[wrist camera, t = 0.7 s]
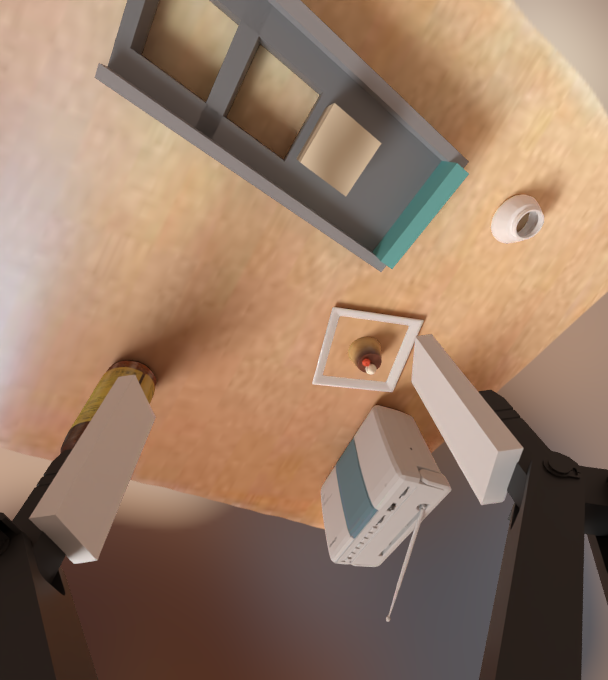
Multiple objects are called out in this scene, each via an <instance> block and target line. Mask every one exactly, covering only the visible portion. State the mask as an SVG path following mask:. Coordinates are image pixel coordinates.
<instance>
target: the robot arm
mask: <svg viewBox="0 0 608 680" xmlns="http://www.w3.org/2000/svg"><path fill="white" fill-rule="evenodd" d="M411 382H412V384H413V385H414V387H415V389H416V391H417V392H418V394H419V396H420V398H421V400H422V401H423V403H424V405H425V407H426V408H427V410H428V412H429V414H430V415H431V417H432V419H433V421H434V422H435V424H436V426H437V428H438V429H439V431H440V433H441V435H442V436H443V438H444V440H445V442H446V443H447V445H448V447H449V449H450V450H451V452H452V454H453V456H454V457H455V459H456V461H457V463H458V465H459V466H460V468H461V470H462V471H463V473H464V475H465V477H466V478H467V480H468V482H469V484H470V485H471V487H472V489H473V491H474V492H475V494H476V496H477V498H478V500H479V501H480V503H481V505H484V504H491V503H498V502H504V499H505V496H506V494H507V491H508V493H509V494H510V496H511V497H512V499H513V500H514V502H515V503H514V505H513V508H512V510H511V513H510V515H509V517H508V520H510V524H509V529H508V534H507V539H506V544H505V549H504V554H503V559H502V565H501V570H500V575H499V581H498V585H497V590H496V595H495V601H494V605H493V611H492V616H491V621H490V626H489V631H488V636H487V641H486V646H485V651H484V656H483V662H482V667H481V672H480V677H479V680H581V659H582V613H583V612H582V611H583V564H584V534H587V535H588V539H589V543H590V546H591V549H592V553H593V556H594V560H595V563H596V567H597V570H598V573H599V577H600V580H601V583H602V587H603V590H604V594H605V597H606V600H607V604H608V470H606V469H598V468H591V467H584V466H579V465H578V464H577V463H576V462H575V461H573V460H572V459H571V458H569V457H567V456H565V455H562V454H561V453H558V452H553V451H551V450H550V449H549V448H548V447H547V446H546V445H545V444H544V443H543V441H542V440H541V439H540V438H539V437H538V436H537V435H536V433H535V432H534V431H533V430H532V429H531V428H530V427H529V426H528V424H527V423H526V422H525V421H524V420H523V419H522V418H520V416H519V414H518V413H517V412H516V411H515V410H513V408H512V406H511V405H510V404H509V403H508V402H507V401H506V400H505V399H504V398H503V397H502V396H500V395H498V394H497V393H495V392H494V391H492V390H486V391H479V392H478V391H477V390H476V389H475V387H474V386H473V385H472V384H471V382H470V381H469V380H468V379H467V377H466V376H465V375H464V374H463V372H462V371H461V370H460V369H459V367H458V366H457V365H456V364H455V363H454V361H453V360H452V359H451V358H450V356H449V355H448V354H447V353H446V351H445V350H444V349H443V348H442V346H441V345H440V344H439V343H438V341H437V340H436V339H435V338H434V337H433V335H432V334H428V335H421V336H415V347H414V358H413V370H412V381H411ZM155 418H156V417H155V415H154V413H153V411H152V409H151V406H150V404H149V402H148V400H147V398H146V396H145V394H144V392H143V390H142V388H141V386H140V384H139V382H138V380H137V378H136V375H128V376H121V377H118V378H117V380H116V382H115V383H114V385H113V386H112V388H111V389H110V391H109V393H108V394H107V396H106V397H105V399H104V401H103V402H102V404H101V405H100V407H99V408H98V410H97V412H96V413H95V415H94V416H93V418H92V419H91V421H90V423H89V424H88V426H87V427H86V429H85V431H84V432H83V434H82V435H81V437H80V438H79V440H78V442H77V443H76V445H75V446H74V448H73V449H69V450H64V451H63V452H62V453H61V454H60V455H59V456H58V457H57V458H56V459H55V460H54V461H53V462H52V463H51V465H50V466H49V467H48V469H47V470H46V472H45V473H44V477H42V478H41V479H40V481H39V482H38V484H37V487H36V488H34V490H33V491H32V493H31V494H30V496H29V497H28V499H27V500H26V502H25V503H24V505H23V506H22V508H21V509H20V511H19V512H18V513H17V515H16V516H15V518H14V519H13V521H11V520H10V519H9V518H8V517H7V516H6V515H5V514H4V513H0V680H98V677H97V674H96V671H95V668H94V665H93V662H92V658H91V655H90V652H89V649H88V646H87V642H86V639H85V636H84V633H83V630H82V627H81V623H80V620H79V617H78V614H77V611H76V608H75V604H74V601H73V598H72V595H71V592H70V589H69V585H68V582H67V579H66V576H65V573H64V571H63V570H62V569H61V567H60V565H61V563H62V561H63V559H64V557H65V555H66V556H67V557H68V558H69V559H70V560H71V561H72V562H73V563H74V564H76V563H84V562H90V561H96V560H97V559H98V557H99V554H100V552H101V549H102V547H103V544H104V542H105V540H106V537H107V535H108V532H109V530H110V528H111V525H112V522H113V520H114V518H115V515H116V513H117V511H118V508H119V506H120V503H121V501H122V498H123V496H124V493H125V491H126V489H127V486H128V484H129V481H130V479H131V476H132V474H133V471H134V469H135V467H136V464H137V462H138V459H139V457H140V454H141V452H142V450H143V447H144V445H145V442H146V440H147V437H148V435H149V432H150V430H151V428H152V425H153V423H154V420H155Z"/></svg>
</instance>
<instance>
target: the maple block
mask: <svg viewBox="0 0 608 680" xmlns="http://www.w3.org/2000/svg"><path fill="white" fill-rule="evenodd" d="M380 145H381V143H380V142H379V141H378V140H377V139H376V138H375V137H374V136H372V135H371V134H370V133H369V132H368V131H367V130H365V129H364V128H363V127H362V126H361V125H360V124H358V123H357V122H356V121H355V120H354V119H353V118H352V117H350V116H349V115H348V114H347V113H346V112H345V111H343V110H342V109H341V108H340V107H339V106H338V105H337V104H335V103H333V104H331V105H329V106H328V107H326V108H325V110H324V111H323V113H322V115H321V117H320V118H319V120H318V122H317V124H316V125H315V127H314V129H313V131H312V132H311V134H310V136H309V138H308V139H307V141H306V143H305V145H304V146H303V148H302V150H301V152H300V153H299V155H298V157H297V160H298V161H299V162H300V163H302V164H303V165H304V166H306V167H307V168H308V169H310V170H311V171H312V172H314V173H315V174H316V175H318V176H319V177H320V178H322V179H323V180H324V181H326V182H327V183H328V184H330V185H331V186H332V187H334V188H335V189H336V190H338V191H339V192H340V193H342V194H343V195H344V196H347V194H348V193H349V191H350V190H351V188H352V187H353V185H354V184H355V182H356V181H357V179H358V178H359V176H360V175H361V173H362V172H363V170H364V169H365V167H366V166H367V164H368V163H369V161H370V160H371V158H372V157H373V155H374V154H375V152H376V151H377V149H378V148H379V146H380Z"/></svg>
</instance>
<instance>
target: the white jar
mask: <svg viewBox="0 0 608 680" xmlns="http://www.w3.org/2000/svg"><path fill="white" fill-rule="evenodd" d="M529 212H530V214H529V218H528V221H527V223H526V224H525V226H524V227H523V228H522V229H521V230H520V231H519V232H517V231H516V228H517V224H518V222H519V221H520V219H521V218H522V217H523V216H524V215H525V214H527V213H529ZM543 223H544V215H543V213H542V210H541V208H540V205H539V203H538V202H537V201H536V200H535V198H534V197H531V196H528V195H525V194H523V195H516V196H513V197H511V198H509V199H508V200H506V201H505V202H504V203H503V204H502V205H501V206H500V207H499V208H498V209H497V211H496V212H495V214H494V216H493V218H492V223H491V230H492V235H493V236H494V237H495V238H496V239H497V241H500V242H503V243H506V244H508V243H515V242H519V241H523V240H525V239H529V238H531V237H533V236H535V235H536V234H537V233H538V232H539V231H540V229H541V228H542V226H543Z"/></svg>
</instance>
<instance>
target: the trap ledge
mask: <svg viewBox="0 0 608 680" xmlns="http://www.w3.org/2000/svg"><path fill="white" fill-rule="evenodd" d="M210 1H211V2H212V3H213V4H214V5H216V6H217V7H218V8H219V9H220V10H221V11H223V12H224V13H225V14H226V15H227V16H228V17H230V18H231V19H232V20H233V21H234V22H235V23H237V24H238V25H239V26H238V29H237V31H236V33H235V36H234V38H233V41H232V43H231V45H230V48H229V50H228V52H227V55H226V57H225V59H224V62H223V64H222V66H221V69H220V71H219V73H218V76H217V78H216V80H215V83H214V85H213V87H212V90H211V92H210V95H209V97H208V99H207V102H205V101H203V100H202V99H201V98H199V97H198V96H197V95H195V94H194V93H192V92H191V91H190V90H188V89H187V88H186V87H184V86H183V85H182V84H180V83H179V82H178V81H176V80H175V79H173V78H172V77H171V76H169V75H168V74H167V73H165V72H164V71H163V70H161V69H160V68H159V67H157V66H156V65H154V64H153V63H152V62H150V61H149V60H148V59H146V58H145V57H144V56H142V55H141V54H142V51H143V48H144V45H145V42H146V39H147V36H148V33H149V30H150V27H151V24H152V21H153V18H154V15H155V12H156V9H157V6H158V3H159V0H127V3H126V7H125V10H124V13H123V17H122V20H121V24H120V27H119V30H118V34H117V37H116V40H115V44H114V47H113V51H112V54H111V57H110V61H109V64H108V67H107V66H105V65H102V64H100V63H99V65H98V68H97V72H96V75H95V78H96V79H97V80H99V81H100V82H102V83H103V84H105V85H106V86H108V87H109V88H111V89H112V90H114V91H115V92H117V93H118V94H120V95H121V96H122V97H124V98H125V99H127V100H128V101H130V102H131V103H133V104H134V105H136V106H137V107H139V108H140V109H142V110H143V111H145V112H146V113H148V114H149V115H150V116H152V117H153V118H155V119H156V120H158V121H159V122H161V123H162V124H164V125H165V126H167V127H168V128H170V129H171V130H173V131H174V132H176V133H177V134H178V135H180V136H181V137H183V138H184V139H186V140H187V141H189V142H190V143H192V144H193V145H195V146H196V147H198V148H199V149H201V150H202V151H203V152H205V153H206V154H208V155H209V156H211V157H212V158H214V159H215V160H217V161H218V162H220V163H221V164H223V165H224V166H226V167H227V168H229V169H230V170H231V171H233V172H234V173H236V174H237V175H239V176H240V177H242V178H243V179H245V180H246V181H248V182H249V183H251V184H252V185H254V186H255V187H257V188H258V189H259V190H261V191H262V192H264V193H265V194H267V195H268V196H270V197H271V198H273V199H274V200H276V201H277V202H279V203H280V204H282V205H283V206H284V207H286V208H287V209H289V210H290V211H292V212H293V213H295V214H296V215H298V216H299V217H301V218H302V219H304V220H305V221H307V222H308V223H310V224H311V225H312V226H314V227H315V228H317V229H318V230H320V231H321V232H323V233H324V234H326V235H327V236H329V237H330V238H332V239H333V240H335V241H336V242H338V243H339V244H340V245H342V246H343V247H345V248H346V249H348V250H349V251H351V252H352V253H354V254H355V255H357V256H358V257H360V258H361V259H363V260H364V261H365V262H367V263H368V264H370V265H371V266H373V267H374V268H376V269H377V270H379V271H380V272H382V270H383V269H384V268H385V267H386V265H387V266H388V267H390V268H391V269H393V267H394V266H395V265H396V264H397V263H398V261H399V260H400V259H401V258H402V256H403V255H404V254H405V253H406V251H407V250H408V249H409V248H410V246H411V245H412V244H413V243H414V241H415V240H416V239H417V238H418V236H419V235H420V234H421V233H422V232H423V230H424V229H425V228H426V227H427V225H428V224H429V223H430V222H431V220H432V219H433V218H434V217H435V215H436V214H437V213H438V212H439V210H440V209H441V208H442V207H443V206H444V204H445V203H446V202H447V201H448V199H449V198H450V197H451V196H452V194H453V193H454V192H455V191H456V189H457V188H458V187H459V186H460V184H461V183H462V182H463V181H464V179H465V178H466V177H467V176H468V175H469V173H467V172H466V171H465V170H464V169H463V168H464V167H465V166H466V165H467V163H468V162H469V161H468V160H467V159H465V158H464V157H463V156H462V155H461V154H460V153H459V152H458V151H457V150H456V149H455V148H454V147H453V146H452V145H451V144H450V143H449V142H448V141H447V140H446V139H445V138H444V137H443V136H441V135H440V134H439V133H438V132H437V131H436V130H435V129H434V128H433V127H432V126H431V125H430V124H429V123H428V122H427V121H426V120H425V119H424V118H423V117H422V116H421V115H420V114H419V113H417V112H416V111H415V110H414V109H413V108H412V107H411V106H410V105H409V104H408V103H407V102H406V101H405V100H404V99H403V98H402V97H401V96H400V95H399V94H398V93H397V92H396V91H395V90H394V89H392V88H391V87H390V86H389V85H388V84H387V83H386V82H385V81H384V80H383V79H382V78H381V77H380V76H379V75H378V74H377V73H376V72H375V71H374V70H373V69H372V68H371V67H370V66H368V65H367V64H366V63H365V62H364V61H363V60H362V59H361V58H360V57H359V56H358V55H357V54H356V53H355V52H354V51H353V50H352V49H351V48H350V47H349V46H348V45H347V44H346V43H344V42H343V41H342V40H341V39H340V38H339V37H338V36H337V35H336V34H335V33H334V32H333V31H332V30H331V29H330V28H329V27H328V26H327V25H326V24H325V23H324V22H323V21H322V20H320V19H319V18H318V17H317V16H316V15H315V14H314V13H313V12H312V11H311V10H310V9H309V8H308V7H307V6H306V5H305V4H304V3H303V2H302V1H301V0H210ZM260 44H261V45H262V46H263V47H264V48H266V49H267V50H268V51H269V52H270V53H271V54H273V55H274V56H275V57H276V58H277V59H278V60H280V61H281V62H282V63H283V64H284V65H285V66H287V67H288V68H289V69H290V70H291V71H292V72H294V73H295V74H296V75H297V76H298V77H299V78H301V79H302V80H303V81H304V82H305V83H306V84H308V85H309V86H310V87H311V88H312V89H313V90H315V91H316V92H317V93H318V94H319V95H320V96H319V97H318V99H317V101H316V103H315V104H314V106H313V108H312V110H311V112H310V113H309V115H308V117H307V119H306V121H305V122H304V124H303V126H302V128H301V130H300V131H299V133H298V135H297V137H296V139H295V140H294V142H293V144H292V146H291V148H290V149H289V151H288V153H287V155H286V157H285V158H284V160H283V159H282V158H281V157H279V156H278V155H277V154H275V153H274V152H272V151H271V150H270V149H268V148H267V147H266V146H264V145H263V144H262V143H260V142H259V141H258V140H256V139H255V138H253V137H252V136H251V135H249V134H248V133H247V132H245V131H244V130H243V129H241V128H240V127H239V126H237V125H236V124H234V123H233V122H232V121H230V120H229V119H228V118H226V117H227V115H228V112H229V110H230V108H231V106H232V104H233V101H234V99H235V97H236V95H237V93H238V91H239V88H240V86H241V84H242V82H243V80H244V77H245V75H246V73H247V71H248V69H249V67H250V64H251V62H252V60H253V58H254V56H255V53H256V51H257V49H258V47H259V45H260ZM333 103H335V104H337V105H338V106H339V107H340V108H341V109H342V110H343V111H345V112H346V113H347V114H348V115H349V116H350V117H352V118H353V119H354V120H355V121H356V122H357V123H358V124H360V125H361V126H362V127H363V128H364V129H365V130H367V131H368V132H369V133H370V134H371V135H372V136H374V137H375V138H376V139H377V140H378V141H379V142H380V143H381V145H380V146H379V148H378V149H377V151H376V152H375V154H374V155H373V157H372V158H371V160H370V161H369V163H368V164H367V166H366V167H365V169H364V170H363V172H362V173H361V175H360V176H359V178H358V179H357V181H356V182H355V184H354V185H353V187H352V188H351V190H350V191H349V193H348V194H347V196H344V195H343V194H342V193H340V192H339V191H338V190H336V189H335V188H334V187H332V186H331V185H330V184H328V183H327V182H326V181H324V180H323V179H322V178H320V177H319V176H318V175H316V174H315V173H314V172H312V171H311V170H310V169H308V168H307V167H306V166H304V165H303V164H302V163H300V162H299V161H298V160H297V157H298V155H299V153H300V152H301V150H302V148H303V146H304V145H305V143H306V141H307V139H308V138H309V136H310V134H311V132H312V131H313V129H314V127H315V125H316V124H317V122H318V120H319V118H320V117H321V115H322V113H323V111H324V110H325V108H326V107H328V106H329V105H331V104H333Z"/></svg>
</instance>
